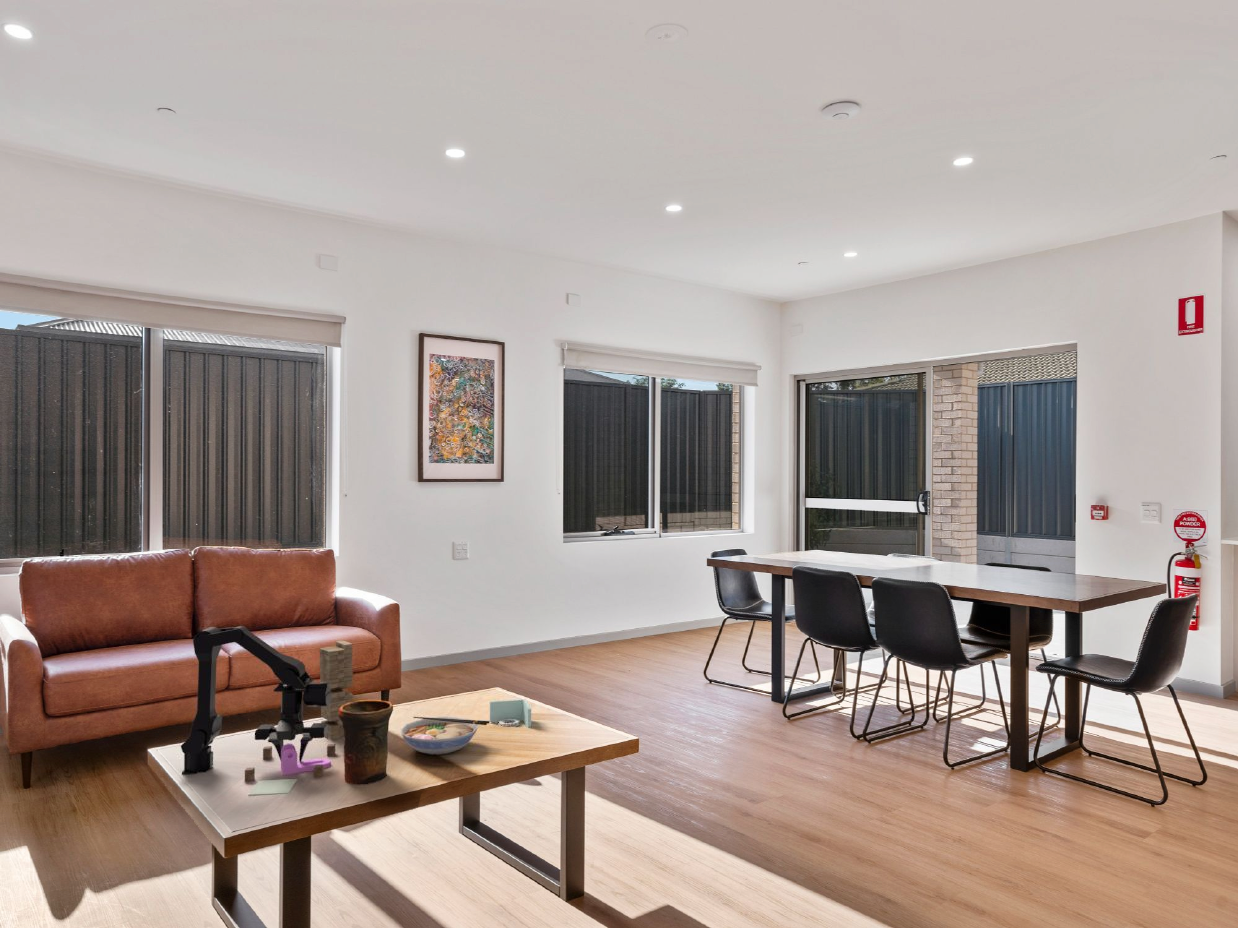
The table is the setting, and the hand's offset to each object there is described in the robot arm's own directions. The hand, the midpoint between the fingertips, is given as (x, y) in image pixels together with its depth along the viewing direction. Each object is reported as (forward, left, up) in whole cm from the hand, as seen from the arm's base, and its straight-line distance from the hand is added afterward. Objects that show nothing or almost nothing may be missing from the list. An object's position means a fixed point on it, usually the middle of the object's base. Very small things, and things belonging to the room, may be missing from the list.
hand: (291, 761), depth 245 cm
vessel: (+22, -12, -2) cm, 25 cm away
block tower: (+7, +28, -2) cm, 29 cm away
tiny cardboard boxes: (0, 0, -2) cm, 2 cm away
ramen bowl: (+41, +8, -2) cm, 41 cm away
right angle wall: (+62, +30, -2) cm, 69 cm away
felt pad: (-1, -16, -2) cm, 16 cm away
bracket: (+5, -2, -2) cm, 5 cm away
